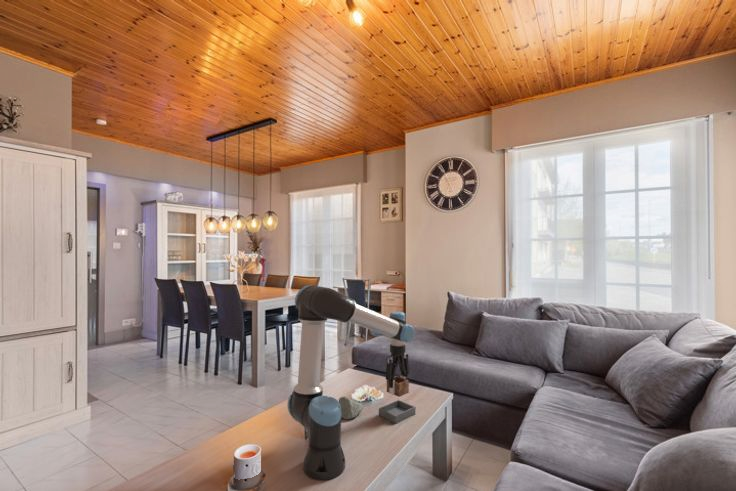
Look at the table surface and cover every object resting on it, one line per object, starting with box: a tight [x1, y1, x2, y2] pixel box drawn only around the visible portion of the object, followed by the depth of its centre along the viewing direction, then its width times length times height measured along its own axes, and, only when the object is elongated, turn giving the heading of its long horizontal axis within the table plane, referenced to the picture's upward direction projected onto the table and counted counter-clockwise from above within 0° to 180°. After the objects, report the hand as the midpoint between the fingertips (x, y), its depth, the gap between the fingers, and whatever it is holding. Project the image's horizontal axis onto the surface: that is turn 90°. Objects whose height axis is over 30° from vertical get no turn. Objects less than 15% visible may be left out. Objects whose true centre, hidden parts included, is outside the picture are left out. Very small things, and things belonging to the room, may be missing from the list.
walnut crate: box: [386, 375, 410, 398], centre depth 166 cm, size 7×8×6 cm
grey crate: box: [378, 399, 417, 425], centre depth 166 cm, size 14×11×4 cm
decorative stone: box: [338, 396, 364, 420], centre depth 165 cm, size 13×11×10 cm
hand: (397, 391), depth 166 cm, fingers closed on walnut crate, 7 cm apart
